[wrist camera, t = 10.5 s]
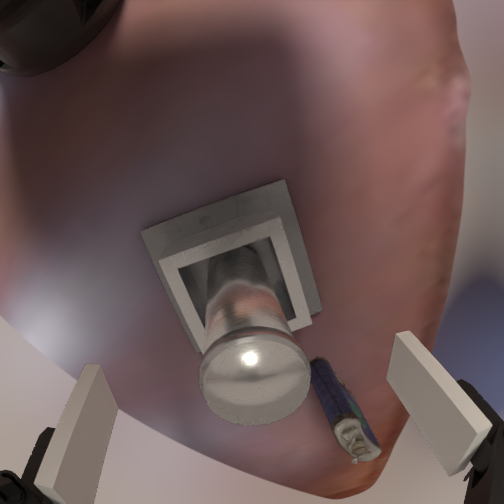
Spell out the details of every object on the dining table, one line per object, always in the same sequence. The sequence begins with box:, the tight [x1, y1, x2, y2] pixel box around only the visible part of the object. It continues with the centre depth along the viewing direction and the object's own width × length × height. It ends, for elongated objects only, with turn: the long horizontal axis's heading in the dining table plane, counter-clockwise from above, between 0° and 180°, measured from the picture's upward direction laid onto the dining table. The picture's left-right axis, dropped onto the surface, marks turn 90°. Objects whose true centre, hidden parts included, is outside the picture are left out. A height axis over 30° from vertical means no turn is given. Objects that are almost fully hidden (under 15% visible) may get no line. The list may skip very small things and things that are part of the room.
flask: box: [309, 357, 382, 464], centre depth 27 cm, size 9×3×11 cm, turn 34°
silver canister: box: [199, 247, 311, 426], centre depth 20 cm, size 5×5×14 cm
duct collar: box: [140, 179, 323, 355], centre depth 25 cm, size 12×12×5 cm
